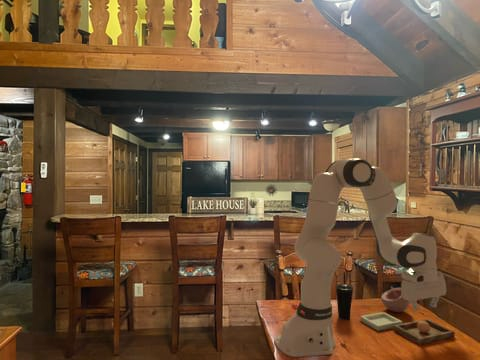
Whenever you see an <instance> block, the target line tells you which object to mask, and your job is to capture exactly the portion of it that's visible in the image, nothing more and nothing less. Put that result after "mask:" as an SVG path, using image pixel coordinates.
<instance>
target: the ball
mask: <svg viewBox="0 0 480 360" xmlns="http://www.w3.org/2000/svg"><path fill="white" fill-rule="evenodd" d="M417 327H418V329H419V331H421V332H422V333H428V332H429V331H430V325H429V324H428V323H427V322H425V321H420V322H419V323H418V324H417Z"/></svg>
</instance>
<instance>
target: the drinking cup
mask: <svg viewBox="0 0 480 360" xmlns="http://www.w3.org/2000/svg"><path fill="white" fill-rule="evenodd" d="M335 289H336V291H335V292H336V305H337V315H338V318H339V319H341V320H343V321H347V320H348V321H349V320H350V319H351V314H352V313H351V311H352V302H353V300H352V299H353V292H354V286H352V285H350V284H349V283H346V272H345V271H344V272H343V283H338V284H335Z"/></svg>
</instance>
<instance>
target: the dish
mask: <svg viewBox="0 0 480 360" xmlns="http://www.w3.org/2000/svg"><path fill="white" fill-rule="evenodd" d="M420 321H425V322H427V323H428V324H429V325H430V331H429V332H428V333H422V332H421V331H419V329H418V327H417V324H418V323H419V322H420ZM393 331H394V332H396V333H397V334H400V335H401V336H403V337H404V338H406V339H408V340H410V341H412V342H413V343H415V344H417V345H418V346H422V345H427V344H432V343H435V342H439V341H440V342H441V341H445V340H448V339H449V338H450V339H454V338H455V337H456V336H455V335H456V334H455V331H454V330H452V329H450V328H447V327H445V326H443V325H441V324H439V323H438V322H437V323H436V322H435V321H433V320H430V319H429V318H426V319H420V320H415V321H414V320H413V321H409V322H404V323H402V324H398V325H394V328H393ZM450 339H449V340H450Z"/></svg>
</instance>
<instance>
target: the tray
mask: <svg viewBox="0 0 480 360" xmlns="http://www.w3.org/2000/svg"><path fill="white" fill-rule="evenodd" d="M359 319H360V322H362V323H363V324H365V325H367V326H368V327H370V328H371V329H374V330H375V331H377V332H380V331H386V330H390V329H394V325H398V324H403V320H400V319H398V318H397V317H395V316H393V315H391V314H388V313H387V312H385V311H383V312H376V313H371V314H366V315H360V317H359Z"/></svg>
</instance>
